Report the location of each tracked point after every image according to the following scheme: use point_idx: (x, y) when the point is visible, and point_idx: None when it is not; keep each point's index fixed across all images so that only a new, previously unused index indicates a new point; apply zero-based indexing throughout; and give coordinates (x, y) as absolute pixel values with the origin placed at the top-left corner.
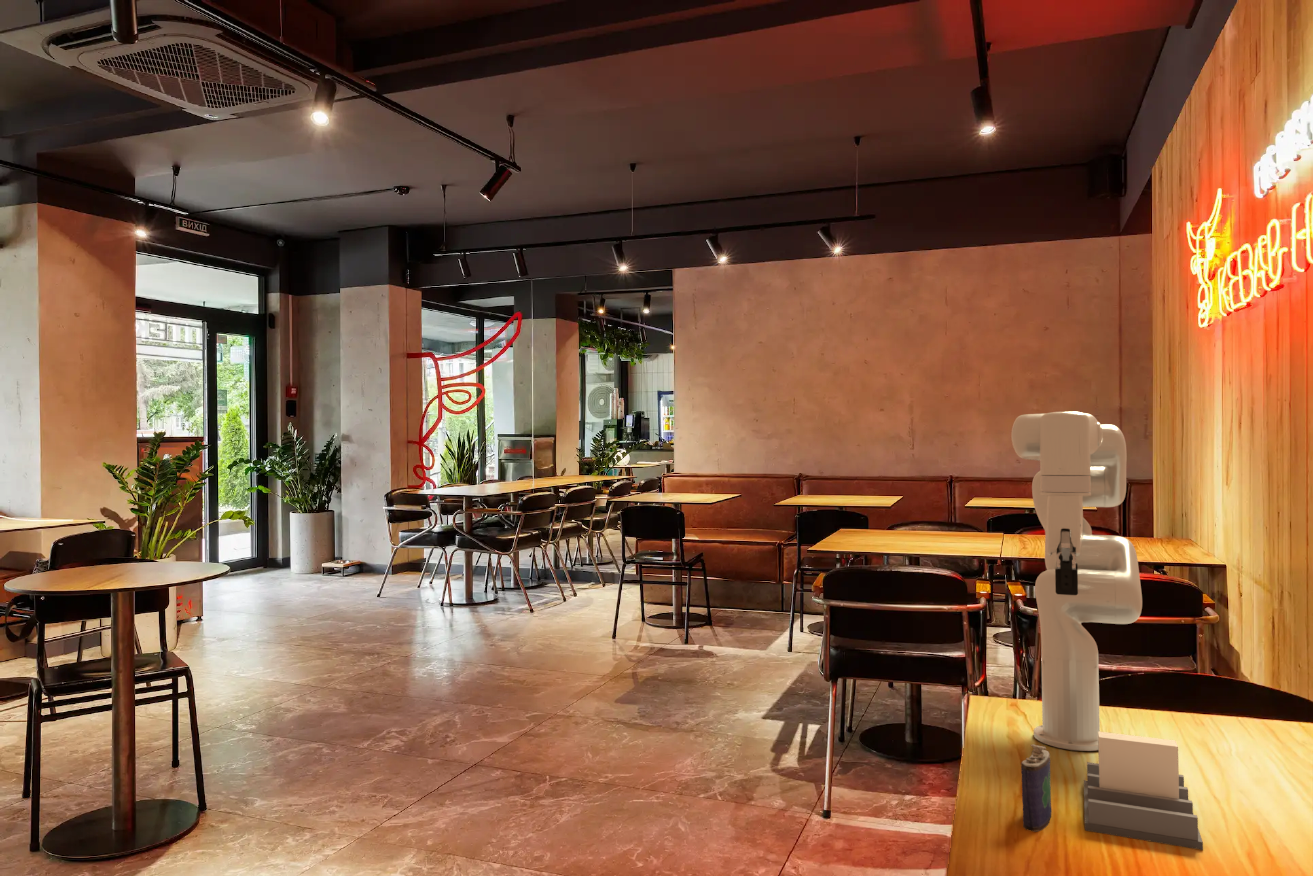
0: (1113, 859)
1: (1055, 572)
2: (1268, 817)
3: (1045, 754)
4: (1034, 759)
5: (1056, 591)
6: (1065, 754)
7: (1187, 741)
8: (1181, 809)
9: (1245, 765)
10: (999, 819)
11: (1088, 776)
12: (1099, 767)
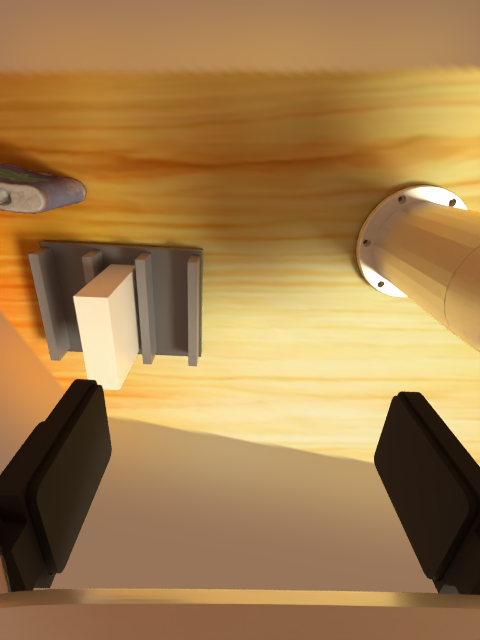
0: None
1: (9, 472)
2: (191, 409)
3: (16, 206)
4: None
5: (71, 386)
6: (339, 231)
7: (434, 382)
8: None
9: (352, 419)
10: (11, 129)
11: (135, 260)
12: (92, 280)
